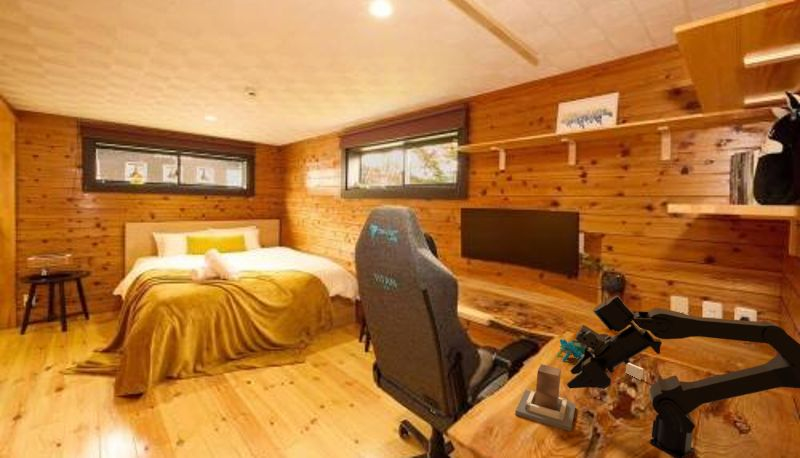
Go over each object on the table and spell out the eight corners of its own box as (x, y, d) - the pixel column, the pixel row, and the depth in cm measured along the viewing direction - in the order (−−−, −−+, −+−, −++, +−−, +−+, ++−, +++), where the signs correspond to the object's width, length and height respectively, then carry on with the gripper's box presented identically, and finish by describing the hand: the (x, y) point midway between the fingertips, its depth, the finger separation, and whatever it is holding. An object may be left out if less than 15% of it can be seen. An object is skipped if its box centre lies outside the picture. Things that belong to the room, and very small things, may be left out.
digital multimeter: (614, 360, 137) (615, 352, 137) (569, 352, 143) (570, 344, 142) (611, 353, 144) (612, 345, 144) (568, 346, 149) (569, 338, 149)
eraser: (627, 373, 126) (629, 362, 125) (642, 379, 121) (643, 368, 121) (625, 373, 125) (626, 363, 125) (640, 380, 121) (641, 369, 120)
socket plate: (575, 407, 101) (576, 398, 101) (570, 431, 90) (571, 421, 90) (525, 393, 108) (525, 384, 108) (515, 414, 96) (515, 404, 96)
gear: (592, 362, 129) (573, 341, 128) (581, 374, 128) (562, 353, 128) (573, 353, 140) (555, 334, 139) (562, 365, 139) (544, 345, 139)
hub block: (557, 405, 100) (560, 368, 99) (555, 414, 95) (558, 376, 95) (537, 400, 102) (540, 364, 102) (534, 408, 98) (537, 370, 97)
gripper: (599, 309, 100) (552, 341, 106) (597, 328, 84) (542, 364, 90) (631, 345, 97) (581, 376, 103) (636, 371, 81) (575, 406, 87)
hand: (569, 379), depth 96 cm, fingers open, 9 cm apart
